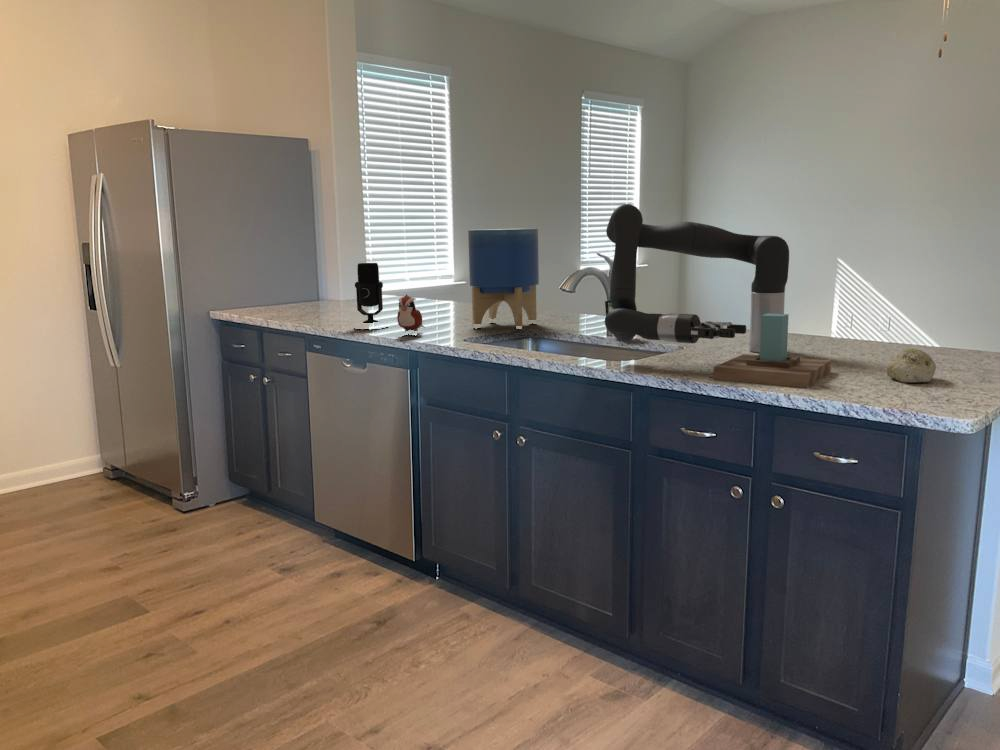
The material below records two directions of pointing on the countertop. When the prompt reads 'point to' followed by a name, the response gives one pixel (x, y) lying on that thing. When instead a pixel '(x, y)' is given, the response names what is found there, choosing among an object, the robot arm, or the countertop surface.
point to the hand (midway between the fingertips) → (740, 331)
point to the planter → (503, 271)
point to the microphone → (369, 289)
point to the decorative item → (911, 366)
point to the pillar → (774, 337)
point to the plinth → (773, 370)
